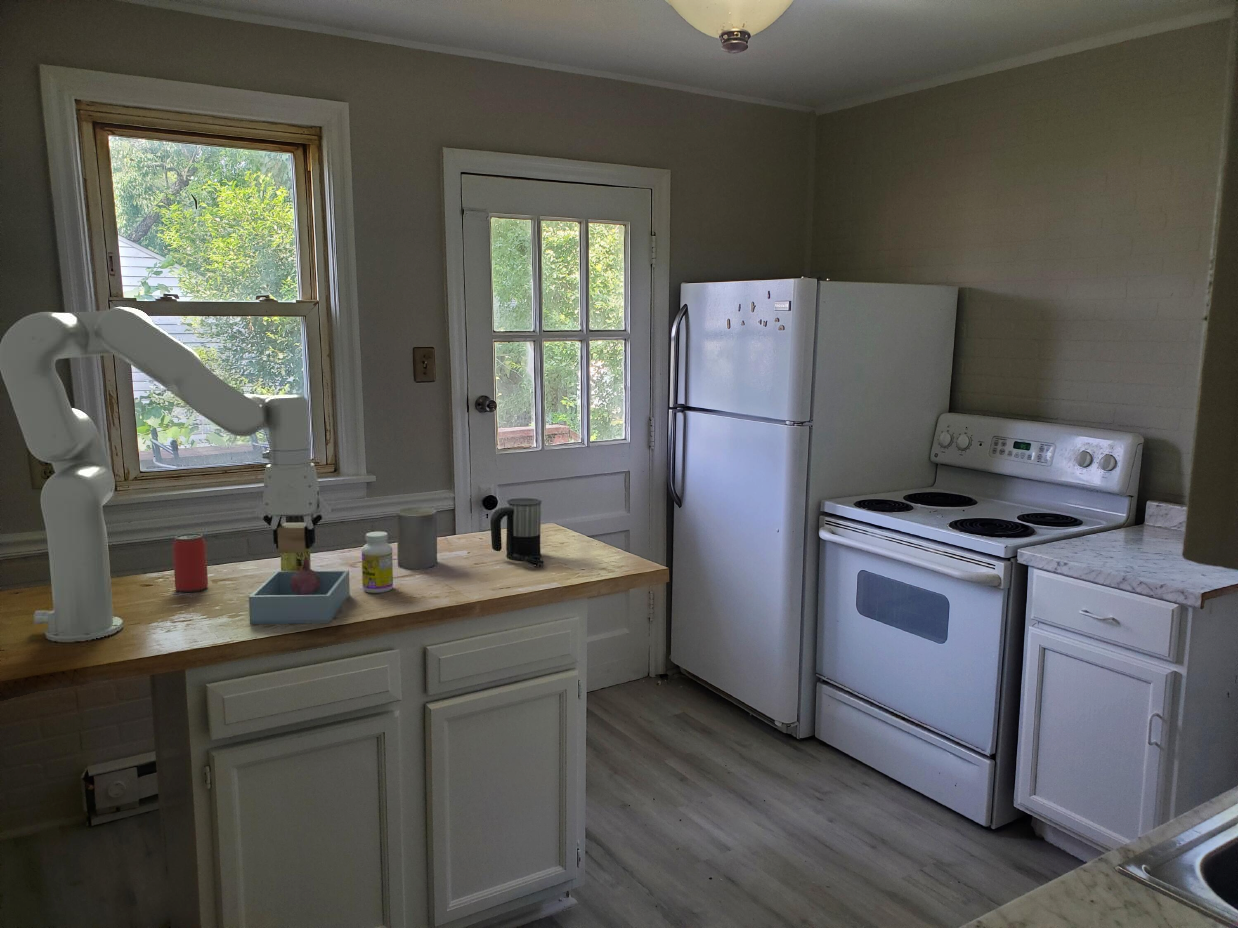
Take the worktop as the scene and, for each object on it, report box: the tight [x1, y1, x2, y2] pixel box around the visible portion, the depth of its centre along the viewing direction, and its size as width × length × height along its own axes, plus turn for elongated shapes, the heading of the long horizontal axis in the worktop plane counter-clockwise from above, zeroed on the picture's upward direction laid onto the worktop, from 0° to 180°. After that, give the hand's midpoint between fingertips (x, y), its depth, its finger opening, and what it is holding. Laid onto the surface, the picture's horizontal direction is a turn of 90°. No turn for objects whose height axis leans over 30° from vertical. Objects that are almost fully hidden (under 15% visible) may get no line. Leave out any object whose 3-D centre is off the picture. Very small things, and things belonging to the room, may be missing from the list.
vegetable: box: [290, 554, 321, 595], centre depth 186 cm, size 6×6×10 cm
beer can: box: [172, 532, 209, 593], centre depth 194 cm, size 7×7×12 cm
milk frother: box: [490, 497, 545, 567], centre depth 223 cm, size 14×16×15 cm
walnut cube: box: [277, 522, 308, 554], centre depth 176 cm, size 5×5×5 cm
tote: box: [248, 570, 351, 625], centre depth 182 cm, size 15×18×6 cm
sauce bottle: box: [280, 516, 312, 571], centre depth 195 cm, size 7×6×20 cm
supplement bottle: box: [361, 531, 394, 594], centre depth 196 cm, size 7×7×13 cm
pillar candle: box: [396, 505, 438, 570], centre depth 217 cm, size 10×10×15 cm
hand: (294, 546), depth 176 cm, fingers closed on walnut cube, 5 cm apart
